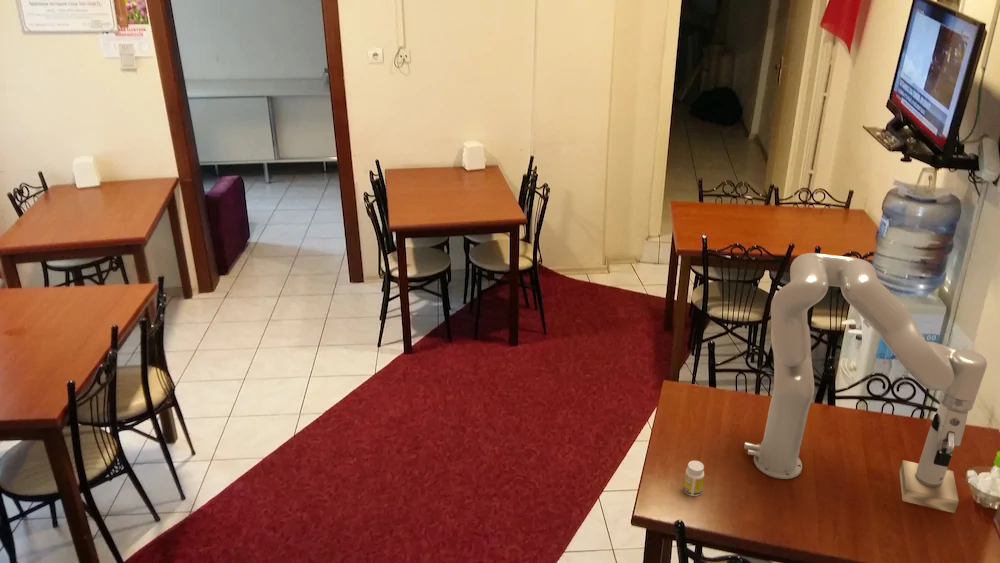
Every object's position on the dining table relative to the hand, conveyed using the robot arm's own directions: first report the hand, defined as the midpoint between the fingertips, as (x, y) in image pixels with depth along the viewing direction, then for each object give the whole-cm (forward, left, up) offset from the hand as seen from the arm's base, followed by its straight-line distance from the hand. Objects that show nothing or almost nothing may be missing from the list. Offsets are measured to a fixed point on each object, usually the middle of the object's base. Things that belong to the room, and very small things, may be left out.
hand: (938, 453), depth 194 cm
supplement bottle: (-57, -22, -13) cm, 62 cm away
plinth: (0, 0, -13) cm, 13 cm away
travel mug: (0, 0, -9) cm, 9 cm away
